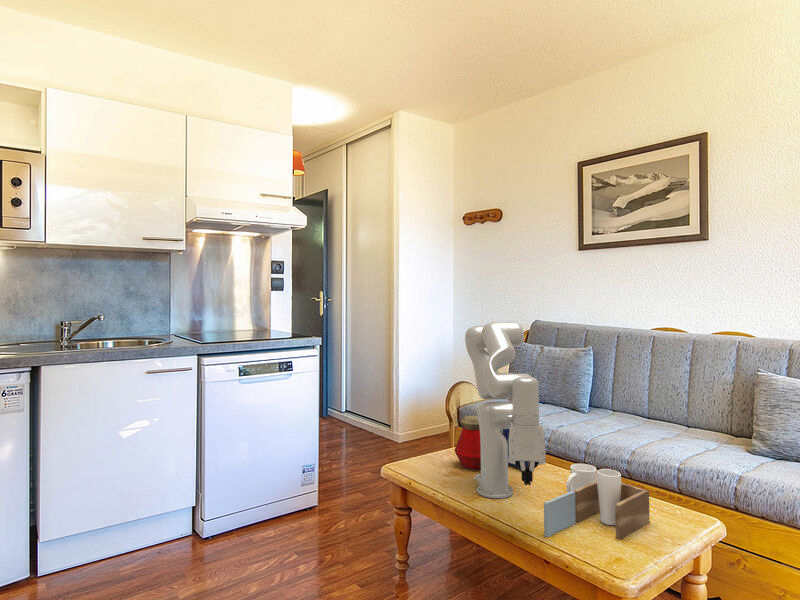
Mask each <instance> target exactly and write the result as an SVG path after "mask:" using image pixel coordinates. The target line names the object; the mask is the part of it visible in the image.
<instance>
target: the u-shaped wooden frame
mask: <svg viewBox="0 0 800 600" xmlns="http://www.w3.org/2000/svg"><path fill="white" fill-rule="evenodd" d="M574 492H575V521H576V523H577V524H578V523H581V522H583V521H585V520H586V518H587V519H588V517H589V518H591V517H593V516H594V514H595V515H597V514H599V513H600V510H599V499H598V489H597V481H595V482H593V483H590V484H588V485H585V486H583V487H580V488H578V489H576V490H574ZM598 512H599V513H598ZM596 513H597V514H596ZM592 515H593V516H592ZM590 516H591V517H590ZM615 517H616V525H615V539H618V540H622V539H623V538H625V537H627V536H628V535H630V534H632V533H634V532H636V531H637V530H639V529H640V528H643V527H645V526H646V525H647V524H649V523H650V490H648V489H644V488H641V487H637V486H635V485H631V484H627V483H624V482H621V498H620V502H619V503H617V504H615ZM584 519H585V520H584Z"/></svg>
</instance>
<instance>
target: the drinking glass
mask: <svg viewBox="0 0 800 600" xmlns="http://www.w3.org/2000/svg"><path fill="white" fill-rule="evenodd" d="M596 471H597V489H598V499H599V510H600V512H599V520H600V522H601V523H602V524H604V525H608V526H616V517H615V504H617V503H619V502H620V498H621V483H622V474H621V472H619V471H617V470H615V469H611V468H601V469H598V470H596Z"/></svg>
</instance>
